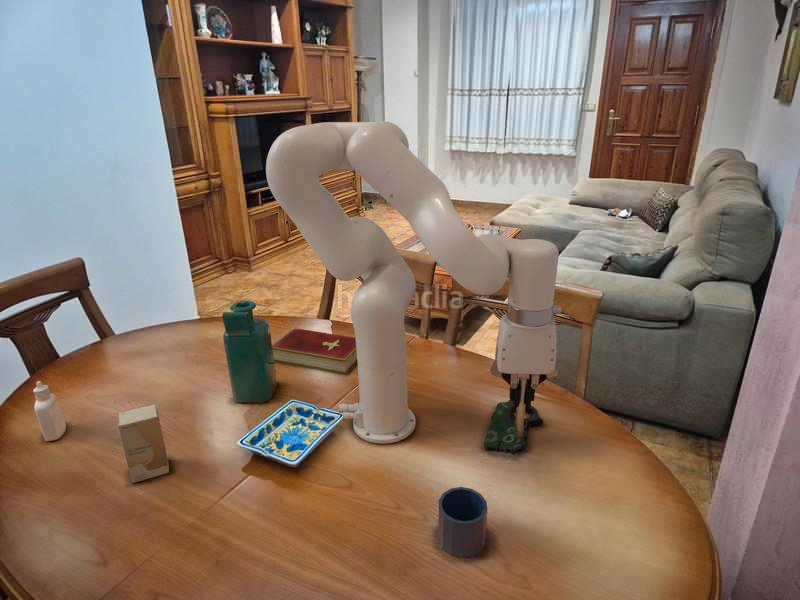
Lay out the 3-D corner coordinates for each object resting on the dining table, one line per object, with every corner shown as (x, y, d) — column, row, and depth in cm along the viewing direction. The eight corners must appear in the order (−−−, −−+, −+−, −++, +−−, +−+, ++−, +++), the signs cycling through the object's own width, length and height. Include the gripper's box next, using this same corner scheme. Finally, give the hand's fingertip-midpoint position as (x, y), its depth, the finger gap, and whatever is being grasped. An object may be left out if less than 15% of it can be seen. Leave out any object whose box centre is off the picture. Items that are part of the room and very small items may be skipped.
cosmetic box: (131, 484, 89) (115, 426, 84) (131, 469, 93) (115, 413, 88) (171, 472, 92) (158, 415, 87) (169, 458, 95) (156, 402, 91)
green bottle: (243, 382, 119) (229, 295, 111) (279, 383, 119) (268, 295, 110) (228, 407, 110) (212, 314, 102) (267, 407, 110) (255, 314, 101)
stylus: (514, 439, 96) (519, 379, 91) (513, 433, 98) (518, 375, 93) (523, 439, 96) (528, 379, 91) (521, 433, 98) (527, 375, 93)
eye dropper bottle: (75, 425, 105) (59, 375, 100) (54, 443, 100) (36, 391, 95) (57, 423, 106) (40, 373, 101) (35, 440, 101) (16, 388, 96)
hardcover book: (295, 340, 139) (294, 326, 137) (366, 351, 132) (365, 337, 131) (270, 361, 129) (268, 346, 127) (346, 374, 122) (345, 359, 120)
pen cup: (438, 559, 74) (439, 523, 71) (437, 520, 81) (438, 486, 78) (487, 561, 74) (489, 524, 71) (482, 522, 80) (484, 487, 77)
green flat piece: (536, 456, 92) (481, 443, 95) (535, 462, 93) (481, 450, 96) (545, 406, 106) (497, 397, 109) (545, 412, 107) (497, 403, 110)
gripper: (570, 304, 90) (559, 393, 97) (481, 303, 91) (476, 391, 98) (582, 322, 83) (569, 416, 90) (485, 321, 84) (479, 414, 91)
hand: (521, 402), depth 94 cm, fingers closed on stylus, 1 cm apart
